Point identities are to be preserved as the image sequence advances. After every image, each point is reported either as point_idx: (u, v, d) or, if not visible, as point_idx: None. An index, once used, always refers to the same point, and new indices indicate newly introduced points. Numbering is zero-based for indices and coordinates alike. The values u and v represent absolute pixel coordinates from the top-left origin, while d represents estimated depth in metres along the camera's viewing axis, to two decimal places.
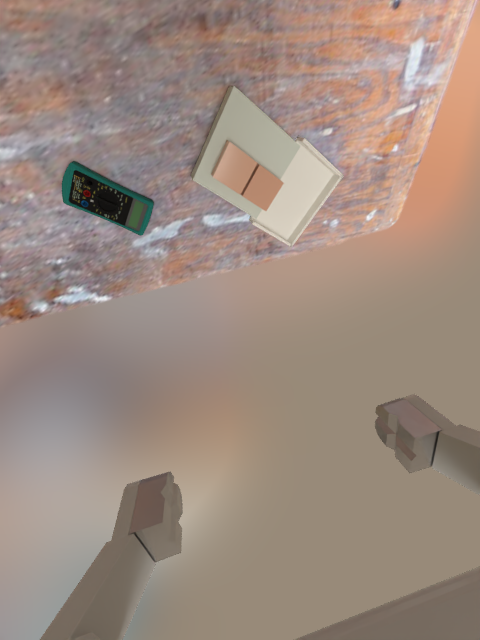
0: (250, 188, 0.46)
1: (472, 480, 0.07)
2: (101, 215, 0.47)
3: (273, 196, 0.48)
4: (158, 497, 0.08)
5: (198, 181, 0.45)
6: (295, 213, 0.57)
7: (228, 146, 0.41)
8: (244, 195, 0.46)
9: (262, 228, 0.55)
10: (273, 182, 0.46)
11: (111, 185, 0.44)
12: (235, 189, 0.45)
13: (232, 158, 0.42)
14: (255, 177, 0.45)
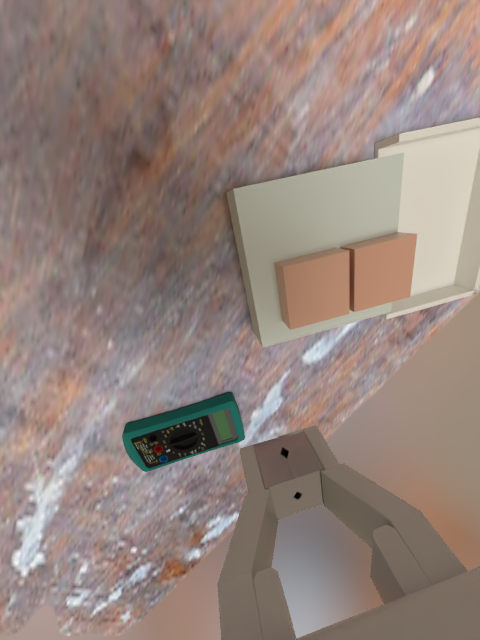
0: (360, 292, 0.22)
1: (353, 523, 0.07)
2: (187, 455, 0.32)
3: (409, 267, 0.22)
4: (279, 458, 0.08)
5: (271, 342, 0.25)
6: (444, 242, 0.29)
7: (285, 274, 0.20)
8: (357, 308, 0.23)
9: (407, 311, 0.28)
10: (396, 250, 0.21)
11: (175, 422, 0.30)
12: (336, 314, 0.23)
13: (303, 282, 0.21)
14: (359, 271, 0.22)
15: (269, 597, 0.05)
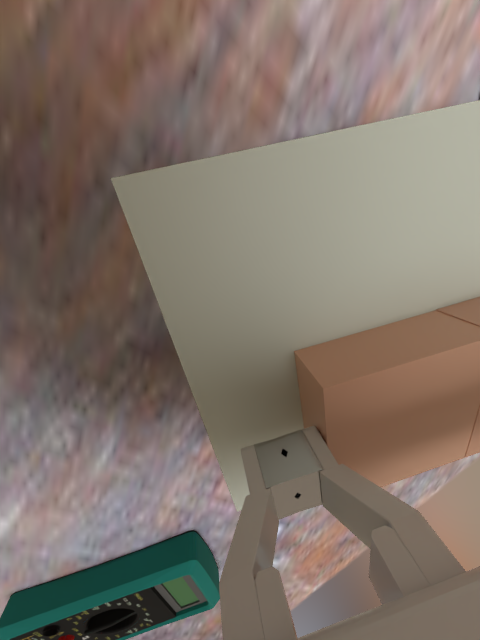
0: None
1: (351, 523, 0.07)
2: (122, 636, 0.19)
3: None
4: (280, 458, 0.08)
5: None
6: None
7: (329, 403, 0.07)
8: (472, 450, 0.10)
9: None
10: None
11: (90, 603, 0.17)
12: (438, 462, 0.10)
13: (372, 415, 0.08)
14: None
15: (270, 596, 0.05)
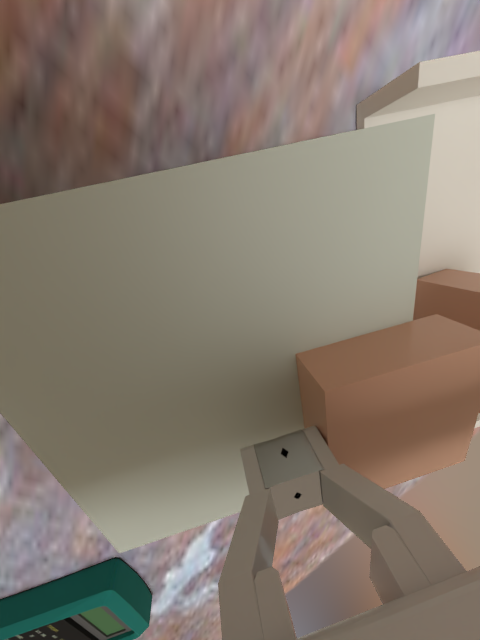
0: None
1: (352, 523, 0.07)
2: None
3: None
4: (280, 458, 0.08)
5: (137, 542, 0.12)
6: None
7: (330, 406, 0.07)
8: None
9: None
10: None
11: (0, 635, 0.16)
12: (438, 465, 0.10)
13: (373, 418, 0.08)
14: None
15: (270, 597, 0.05)
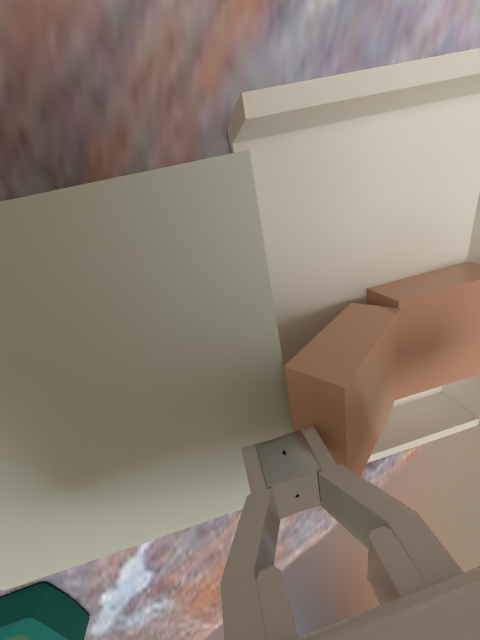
0: None
1: (350, 524, 0.07)
2: None
3: None
4: (281, 457, 0.08)
5: (20, 580, 0.11)
6: None
7: (346, 400, 0.08)
8: None
9: None
10: None
11: None
12: (385, 419, 0.12)
13: (364, 398, 0.09)
14: None
15: (272, 596, 0.05)
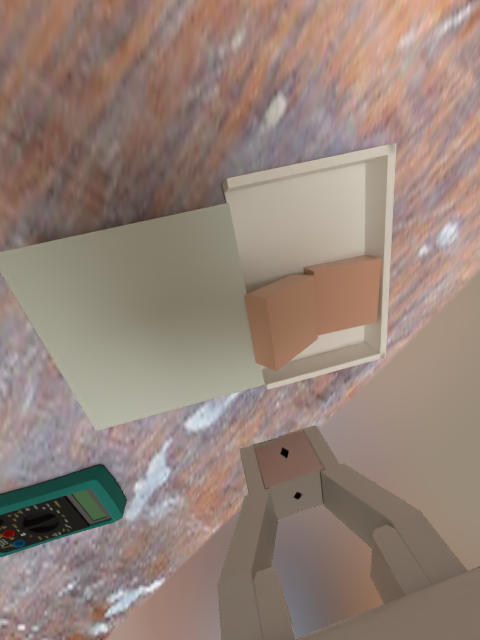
0: None
1: (353, 523, 0.07)
2: (50, 538, 0.27)
3: None
4: (279, 458, 0.08)
5: (106, 424, 0.21)
6: None
7: (268, 307, 0.17)
8: None
9: (293, 379, 0.23)
10: None
11: (23, 504, 0.25)
12: (309, 342, 0.21)
13: (283, 314, 0.18)
14: None
15: (269, 597, 0.05)
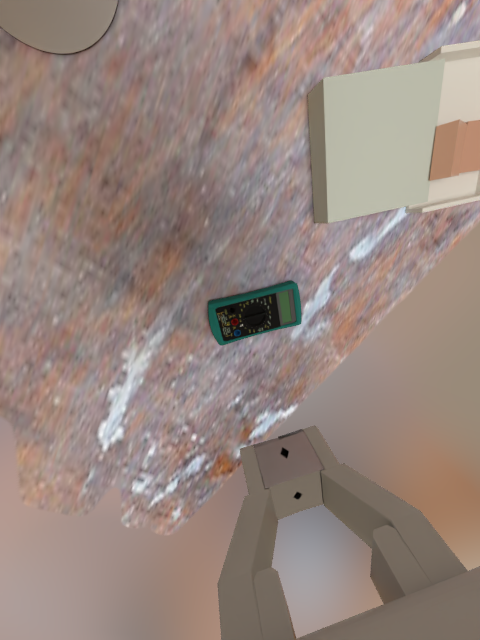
0: None
1: (353, 523, 0.07)
2: (255, 332, 0.39)
3: None
4: (279, 458, 0.08)
5: (334, 219, 0.32)
6: None
7: (458, 126, 0.29)
8: None
9: (438, 206, 0.36)
10: None
11: (250, 296, 0.37)
12: (457, 173, 0.34)
13: (459, 138, 0.30)
14: None
15: (269, 597, 0.05)
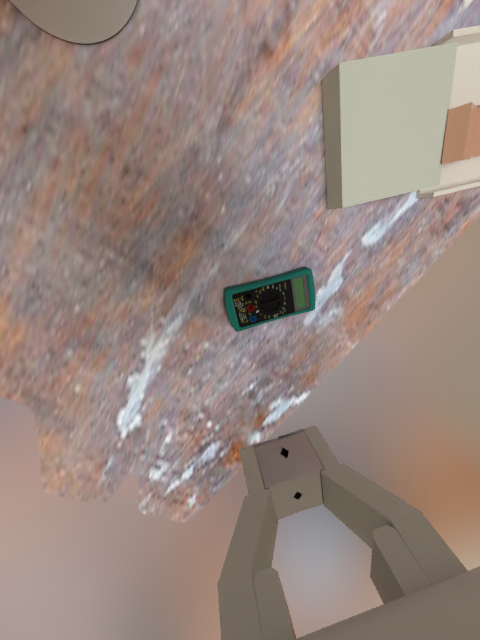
0: None
1: (353, 523, 0.07)
2: (271, 318, 0.40)
3: None
4: (279, 458, 0.08)
5: (349, 203, 0.33)
6: None
7: (471, 109, 0.30)
8: None
9: (449, 190, 0.36)
10: None
11: (266, 283, 0.37)
12: (468, 156, 0.34)
13: (471, 121, 0.31)
14: None
15: (269, 597, 0.05)
